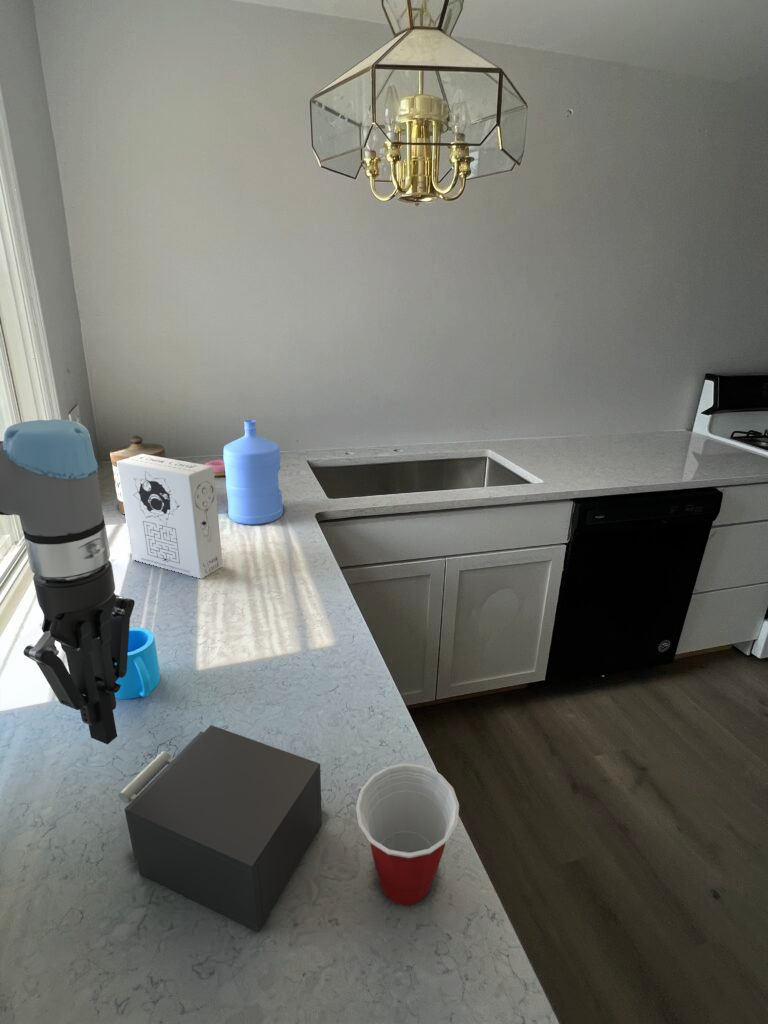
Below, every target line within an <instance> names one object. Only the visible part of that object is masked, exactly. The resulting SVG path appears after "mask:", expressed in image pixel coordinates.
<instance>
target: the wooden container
mask: <svg viewBox="0 0 768 1024" xmlns="http://www.w3.org/2000/svg"><path fill="white" fill-rule="evenodd" d="M143 440H144V439H143V437H142V436H140V435H132V436H131V437H130V438H129V442H130V444H125V445H121V446H117V447H114V448H112V449H111V450H109V455H110V462H111V465H112V473H113V479H114V486H115V492H116V498H117V502H118V508H119V512H120V513H121V514H122V515H124V514H125V511H124V505H123V498H122V492H121V486H120V480H119V474H118V468H117V461H120V460H123V459H126V458H130V457H133V456H136V455H140V454H146V455H151V456H157V457H163V458H167V456H166V449H165V447H164V446H163V445H161V444H158V443H143Z"/></svg>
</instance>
